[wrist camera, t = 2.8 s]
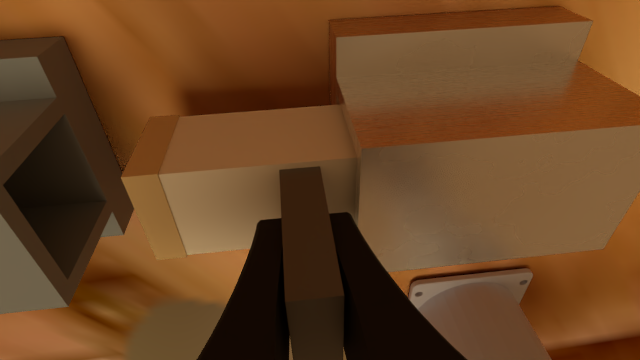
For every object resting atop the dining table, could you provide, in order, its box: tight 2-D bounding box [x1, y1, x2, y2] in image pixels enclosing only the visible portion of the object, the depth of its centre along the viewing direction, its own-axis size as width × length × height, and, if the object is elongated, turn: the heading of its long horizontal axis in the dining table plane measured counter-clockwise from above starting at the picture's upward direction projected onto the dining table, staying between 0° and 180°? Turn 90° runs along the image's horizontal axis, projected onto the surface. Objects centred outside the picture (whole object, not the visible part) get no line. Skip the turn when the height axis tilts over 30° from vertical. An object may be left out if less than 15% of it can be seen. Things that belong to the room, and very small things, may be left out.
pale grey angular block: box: [121, 104, 357, 360], centre depth 12 cm, size 14×4×8 cm, turn 92°
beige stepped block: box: [329, 6, 640, 272], centre depth 15 cm, size 9×8×7 cm
